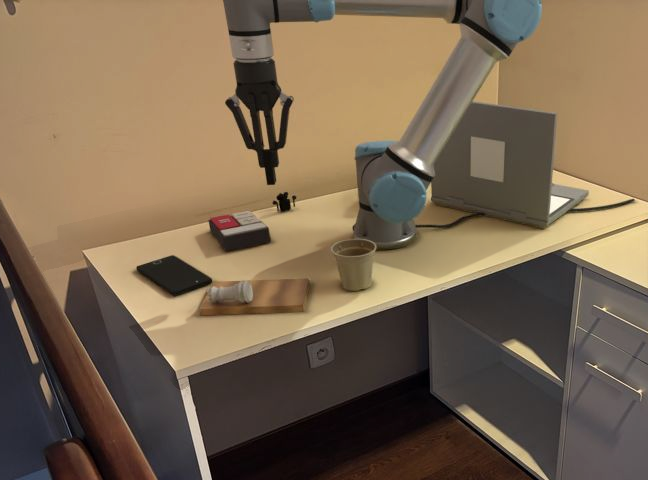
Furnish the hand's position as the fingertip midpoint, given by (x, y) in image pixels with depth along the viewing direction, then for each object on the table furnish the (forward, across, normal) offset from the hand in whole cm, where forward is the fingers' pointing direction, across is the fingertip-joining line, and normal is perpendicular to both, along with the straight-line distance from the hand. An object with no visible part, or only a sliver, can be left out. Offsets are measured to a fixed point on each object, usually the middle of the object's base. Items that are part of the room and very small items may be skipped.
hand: (271, 182), depth 139 cm
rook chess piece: (+17, -4, -16) cm, 23 cm away
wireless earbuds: (+21, -5, +39) cm, 44 cm away
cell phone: (+20, -24, 0) cm, 31 cm away
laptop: (+21, +56, +40) cm, 72 cm away
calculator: (+21, -14, +22) cm, 33 cm away
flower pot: (+21, +16, -7) cm, 27 cm away
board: (+20, -4, -12) cm, 24 cm away
